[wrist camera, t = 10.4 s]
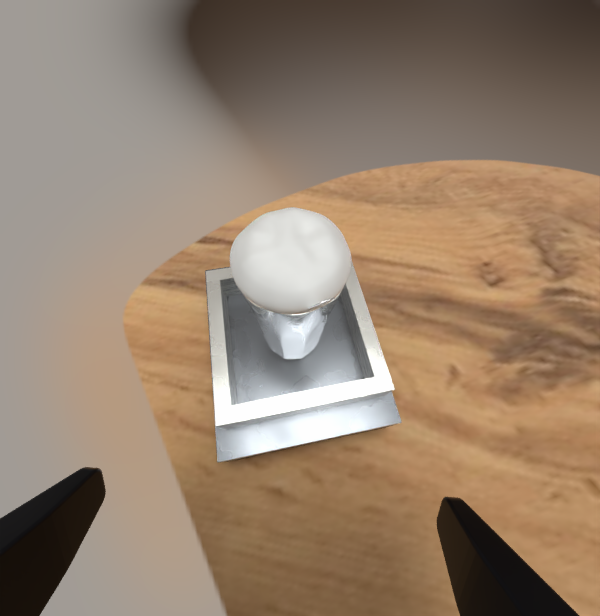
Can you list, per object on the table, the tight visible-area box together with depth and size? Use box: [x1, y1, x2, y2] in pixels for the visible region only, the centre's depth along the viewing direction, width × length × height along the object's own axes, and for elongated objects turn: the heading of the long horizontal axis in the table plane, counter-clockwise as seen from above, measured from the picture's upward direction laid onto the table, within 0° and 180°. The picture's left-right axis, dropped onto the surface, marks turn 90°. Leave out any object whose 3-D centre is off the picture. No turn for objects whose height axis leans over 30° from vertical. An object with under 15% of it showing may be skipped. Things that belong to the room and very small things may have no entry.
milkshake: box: [230, 207, 351, 359], centre depth 14 cm, size 4×5×10 cm
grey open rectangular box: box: [205, 260, 401, 462], centre depth 19 cm, size 12×10×5 cm
